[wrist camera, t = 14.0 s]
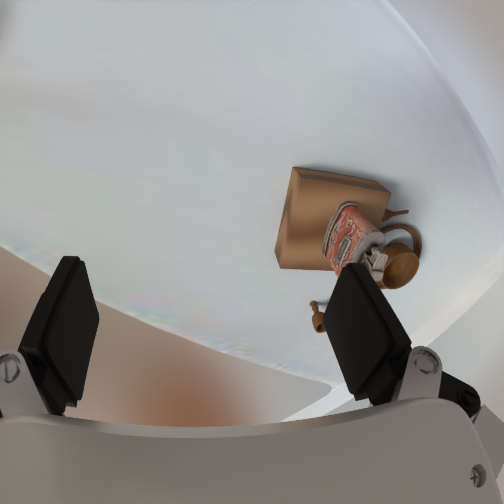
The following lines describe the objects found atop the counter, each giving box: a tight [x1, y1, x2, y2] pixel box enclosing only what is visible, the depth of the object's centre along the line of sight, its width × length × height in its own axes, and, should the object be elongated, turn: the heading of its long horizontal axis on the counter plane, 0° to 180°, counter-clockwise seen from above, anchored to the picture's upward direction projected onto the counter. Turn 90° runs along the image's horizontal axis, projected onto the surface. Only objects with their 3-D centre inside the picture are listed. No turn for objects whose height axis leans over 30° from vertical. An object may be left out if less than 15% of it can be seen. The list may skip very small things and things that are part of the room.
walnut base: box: [275, 167, 391, 271], centre depth 37 cm, size 12×12×4 cm
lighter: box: [322, 201, 388, 282], centre depth 32 cm, size 8×3×10 cm, turn 168°
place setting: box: [310, 210, 422, 333], centre depth 42 cm, size 18×20×6 cm
